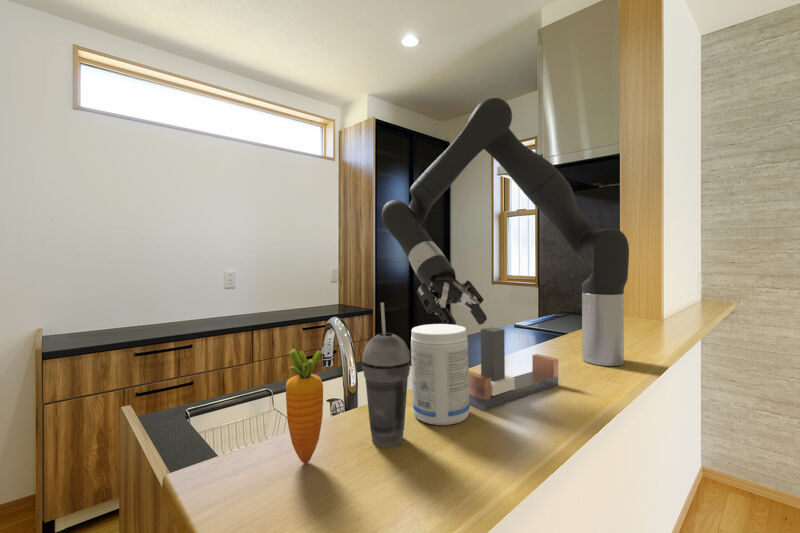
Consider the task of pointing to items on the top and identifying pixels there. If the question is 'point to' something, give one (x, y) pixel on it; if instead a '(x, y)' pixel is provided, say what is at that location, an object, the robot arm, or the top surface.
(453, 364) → the supplement tub
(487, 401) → the rail
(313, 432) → the carrot
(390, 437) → the beverage cup
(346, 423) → the top surface
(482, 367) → the block
